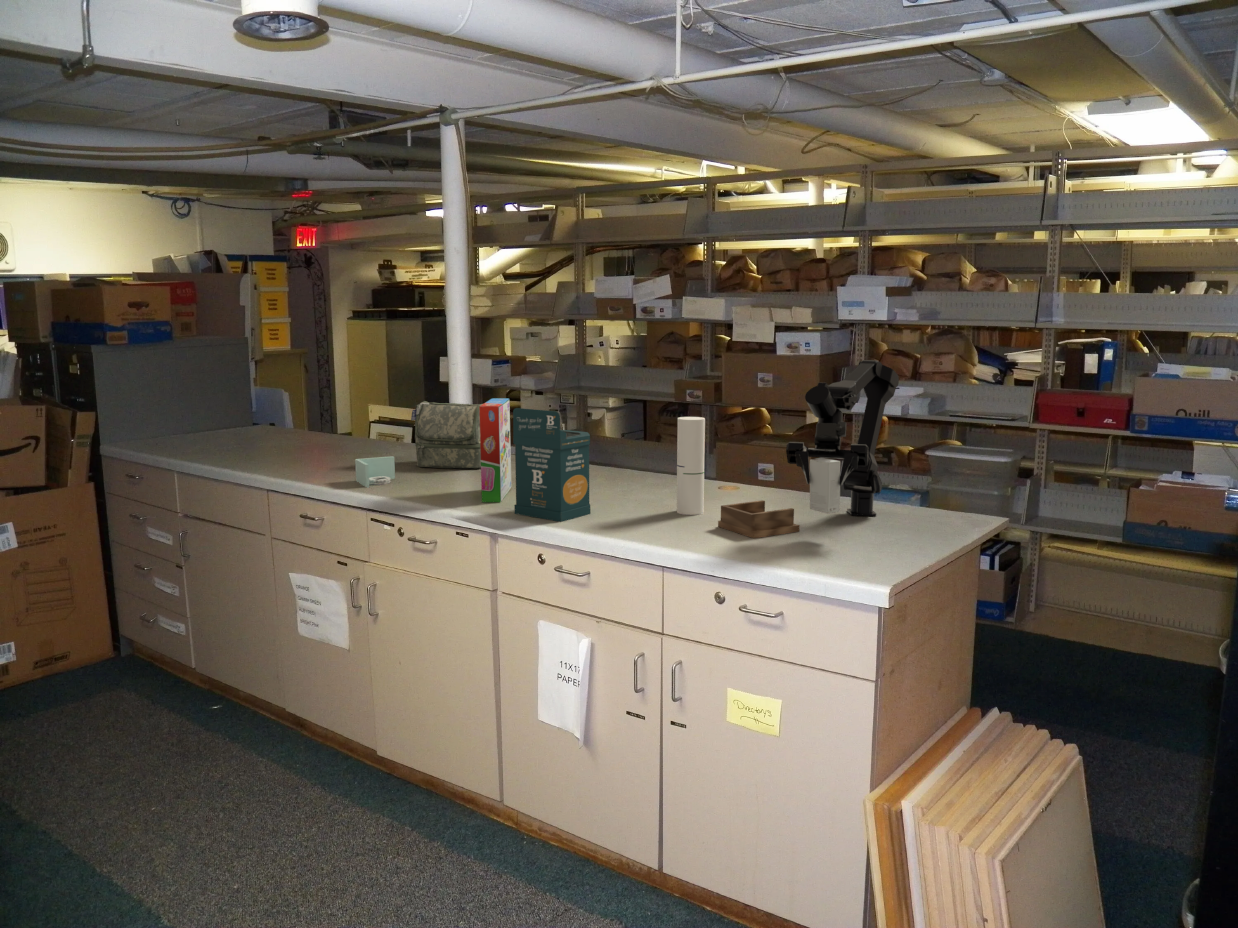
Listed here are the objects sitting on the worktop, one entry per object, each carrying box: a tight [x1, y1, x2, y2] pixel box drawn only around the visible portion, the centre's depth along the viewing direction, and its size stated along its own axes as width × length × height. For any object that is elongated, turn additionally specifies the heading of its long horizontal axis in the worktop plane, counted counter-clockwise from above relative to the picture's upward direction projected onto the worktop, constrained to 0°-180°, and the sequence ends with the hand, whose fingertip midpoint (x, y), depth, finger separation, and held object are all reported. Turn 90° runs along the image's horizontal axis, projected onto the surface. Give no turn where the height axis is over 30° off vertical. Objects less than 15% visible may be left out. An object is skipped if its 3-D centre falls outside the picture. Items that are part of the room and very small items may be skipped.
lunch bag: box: [410, 400, 483, 470], centre depth 323 cm, size 26×18×22 cm
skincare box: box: [809, 457, 841, 514], centre depth 219 cm, size 6×4×12 cm
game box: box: [479, 397, 512, 504], centre depth 270 cm, size 21×6×27 cm, turn 178°
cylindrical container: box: [676, 416, 706, 516], centre depth 248 cm, size 7×7×25 cm
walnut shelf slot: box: [717, 499, 801, 539], centre depth 230 cm, size 14×14×6 cm
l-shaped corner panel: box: [354, 456, 396, 488], centre depth 292 cm, size 12×12×8 cm
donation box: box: [512, 407, 591, 523], centre depth 247 cm, size 16×16×28 cm
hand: (824, 484), depth 218 cm, fingers closed on skincare box, 7 cm apart
